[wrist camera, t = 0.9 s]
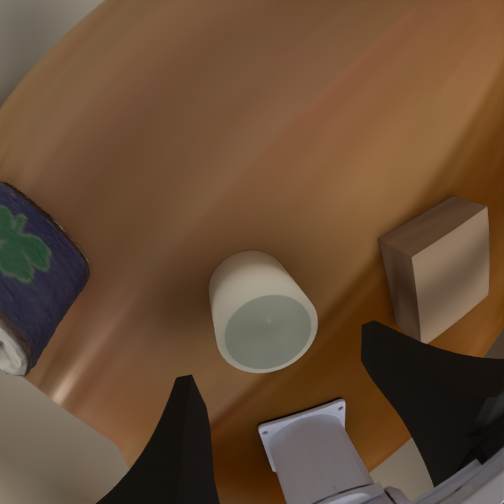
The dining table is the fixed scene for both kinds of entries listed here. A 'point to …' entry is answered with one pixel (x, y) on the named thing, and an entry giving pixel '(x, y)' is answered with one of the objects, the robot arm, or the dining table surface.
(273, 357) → the cup
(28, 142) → the dining table surface
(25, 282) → the flask
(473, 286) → the block
